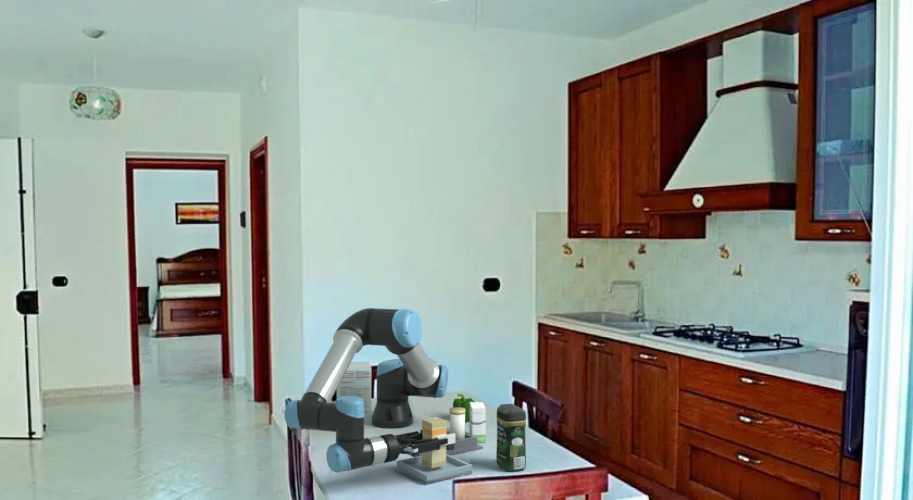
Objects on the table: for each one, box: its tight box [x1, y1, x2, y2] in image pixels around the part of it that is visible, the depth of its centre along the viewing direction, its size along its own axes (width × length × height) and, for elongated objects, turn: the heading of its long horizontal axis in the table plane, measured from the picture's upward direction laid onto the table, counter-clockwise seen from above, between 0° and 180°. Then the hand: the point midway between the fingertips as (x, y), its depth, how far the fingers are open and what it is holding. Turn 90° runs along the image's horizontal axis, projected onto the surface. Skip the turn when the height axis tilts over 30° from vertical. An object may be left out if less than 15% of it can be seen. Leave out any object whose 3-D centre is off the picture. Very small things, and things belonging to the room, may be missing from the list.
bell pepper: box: [452, 393, 475, 422], centre depth 268 cm, size 8×8×10 cm
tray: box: [396, 454, 473, 486], centre depth 210 cm, size 16×16×2 cm
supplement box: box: [336, 361, 372, 412], centre depth 285 cm, size 13×13×18 cm
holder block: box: [408, 432, 484, 457], centre depth 232 cm, size 15×22×3 cm
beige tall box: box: [421, 416, 448, 468], centre depth 210 cm, size 5×5×13 cm
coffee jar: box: [495, 403, 527, 472], centre depth 214 cm, size 10×8×19 cm
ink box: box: [468, 401, 487, 443], centre depth 243 cm, size 9×5×12 cm, turn 5°
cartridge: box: [449, 407, 466, 440], centre depth 236 cm, size 5×5×12 cm
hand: (448, 435), depth 213 cm, fingers closed on beige tall box, 5 cm apart
